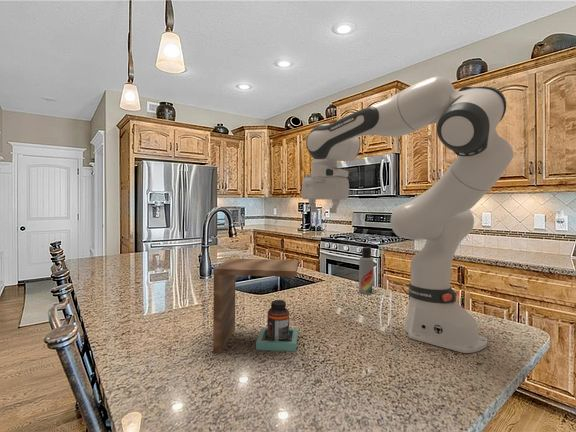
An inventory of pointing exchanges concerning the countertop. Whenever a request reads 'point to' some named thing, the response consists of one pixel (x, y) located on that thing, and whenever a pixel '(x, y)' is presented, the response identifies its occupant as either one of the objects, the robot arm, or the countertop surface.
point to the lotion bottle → (366, 272)
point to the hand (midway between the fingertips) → (323, 212)
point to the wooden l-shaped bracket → (226, 290)
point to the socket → (277, 342)
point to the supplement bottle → (278, 322)
